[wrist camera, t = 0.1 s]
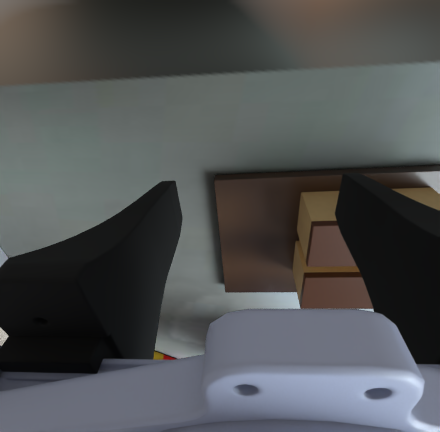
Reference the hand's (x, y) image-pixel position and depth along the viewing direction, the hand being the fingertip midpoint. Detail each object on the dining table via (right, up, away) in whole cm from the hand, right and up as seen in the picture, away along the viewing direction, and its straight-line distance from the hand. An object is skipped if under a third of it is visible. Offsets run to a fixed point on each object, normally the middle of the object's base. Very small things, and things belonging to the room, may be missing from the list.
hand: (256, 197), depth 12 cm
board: (+7, -3, +14) cm, 16 cm away
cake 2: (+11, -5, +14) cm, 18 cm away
